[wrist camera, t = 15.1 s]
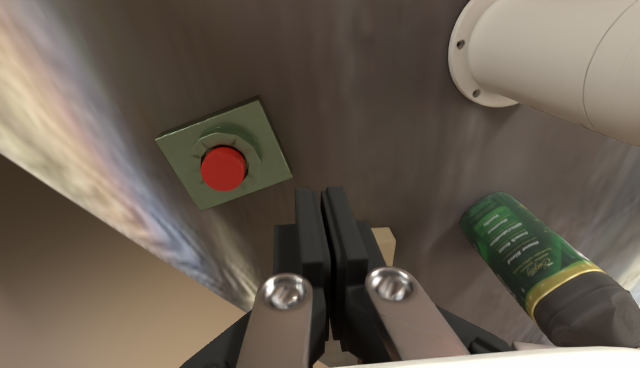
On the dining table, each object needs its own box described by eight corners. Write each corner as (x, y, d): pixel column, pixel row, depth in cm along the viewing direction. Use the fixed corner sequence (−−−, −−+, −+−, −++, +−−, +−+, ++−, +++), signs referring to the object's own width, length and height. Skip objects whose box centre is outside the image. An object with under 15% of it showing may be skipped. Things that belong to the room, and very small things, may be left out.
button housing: (259, 94, 34) (257, 104, 31) (292, 169, 38) (293, 185, 35) (161, 132, 35) (148, 146, 31) (203, 201, 39) (196, 220, 36)
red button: (234, 140, 32) (232, 147, 31) (252, 175, 34) (251, 183, 33) (196, 154, 33) (192, 162, 31) (216, 188, 34) (213, 196, 33)
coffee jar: (447, 218, 44) (547, 342, 28) (499, 180, 42) (640, 287, 26) (483, 258, 48) (589, 387, 31) (532, 224, 46) (672, 342, 30)
